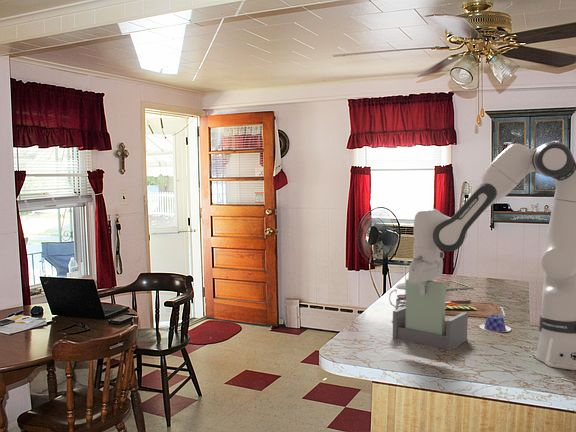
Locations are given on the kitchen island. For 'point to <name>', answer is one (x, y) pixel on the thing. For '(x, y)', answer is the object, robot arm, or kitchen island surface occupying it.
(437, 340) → the rack
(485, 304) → the chopping board
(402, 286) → the french press
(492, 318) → the pudding
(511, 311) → the kitchen island surface
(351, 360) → the kitchen island surface
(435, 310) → the tall panel
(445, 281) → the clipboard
